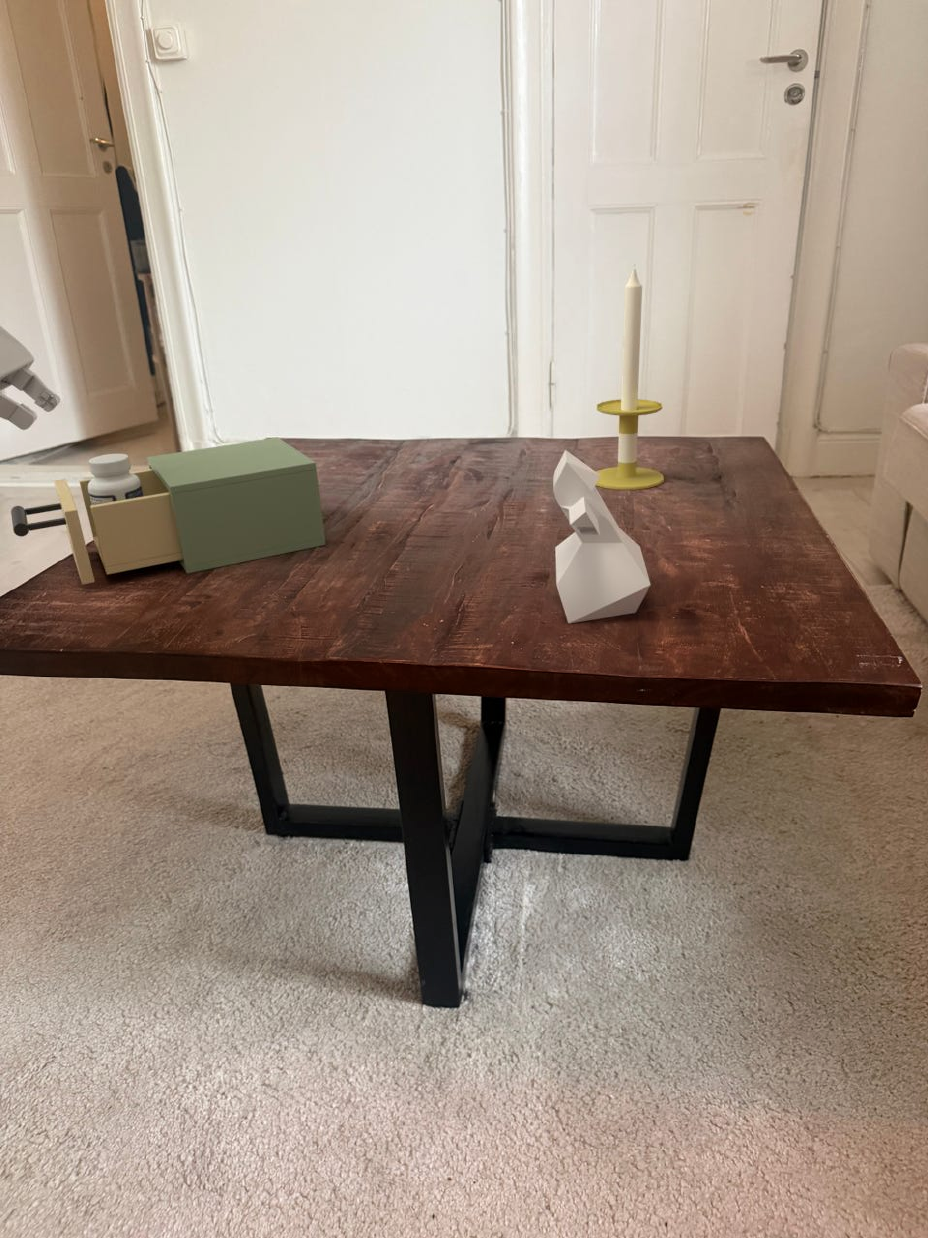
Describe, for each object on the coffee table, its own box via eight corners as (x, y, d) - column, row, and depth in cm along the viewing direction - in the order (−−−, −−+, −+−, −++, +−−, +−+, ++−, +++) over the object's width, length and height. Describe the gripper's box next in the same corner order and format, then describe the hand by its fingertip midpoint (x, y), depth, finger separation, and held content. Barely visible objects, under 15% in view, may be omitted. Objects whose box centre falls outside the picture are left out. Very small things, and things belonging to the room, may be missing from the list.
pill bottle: (146, 532, 99) (128, 448, 94) (159, 545, 95) (140, 458, 90) (97, 543, 96) (76, 457, 92) (108, 557, 92) (86, 467, 88)
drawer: (30, 595, 86) (9, 521, 83) (24, 555, 97) (5, 488, 94) (224, 556, 94) (212, 486, 91) (198, 522, 105) (186, 459, 101)
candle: (583, 471, 121) (586, 263, 110) (654, 467, 121) (664, 259, 110) (596, 491, 112) (600, 268, 101) (672, 487, 112) (686, 263, 101)
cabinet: (186, 573, 92) (169, 486, 88) (162, 535, 104) (146, 456, 100) (325, 545, 98) (315, 462, 94) (288, 511, 110) (277, 437, 106)
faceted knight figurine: (636, 568, 88) (641, 434, 82) (651, 629, 75) (659, 475, 69) (552, 569, 89) (552, 436, 83) (554, 629, 76) (553, 477, 70)
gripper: (-116, 300, 73) (35, 409, 78) (-35, 287, 91) (83, 375, 97) (-156, 358, 74) (-4, 461, 79) (-68, 334, 92) (51, 419, 98)
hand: (44, 414), depth 88 cm, fingers open, 8 cm apart
